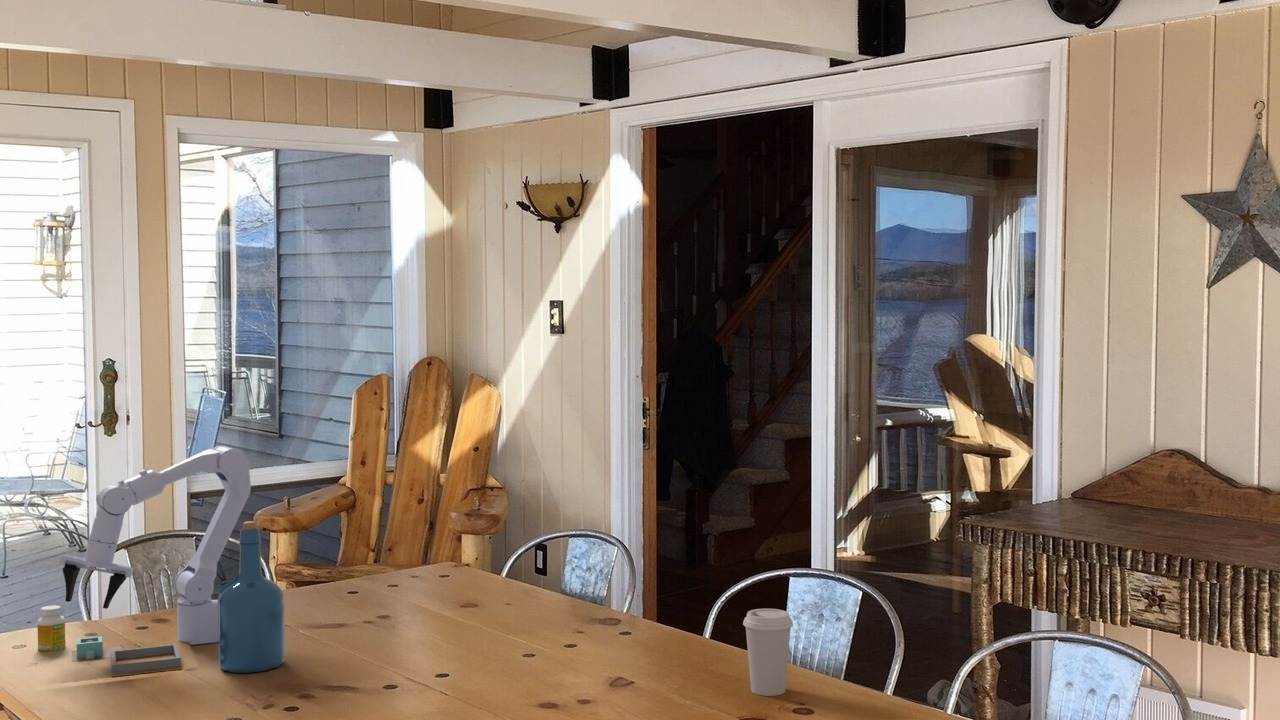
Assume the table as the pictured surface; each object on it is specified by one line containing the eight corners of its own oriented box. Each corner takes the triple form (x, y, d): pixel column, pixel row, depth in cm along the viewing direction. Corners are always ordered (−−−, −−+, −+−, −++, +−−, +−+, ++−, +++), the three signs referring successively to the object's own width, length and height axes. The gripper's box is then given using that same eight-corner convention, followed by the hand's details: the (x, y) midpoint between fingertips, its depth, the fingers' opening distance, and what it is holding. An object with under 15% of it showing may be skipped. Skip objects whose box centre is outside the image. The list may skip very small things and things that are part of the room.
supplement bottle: (54, 655, 266) (53, 610, 266) (32, 654, 267) (31, 609, 267) (70, 649, 271) (69, 605, 271) (49, 648, 272) (48, 604, 272)
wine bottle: (298, 660, 262) (296, 518, 261) (259, 677, 249) (256, 528, 248) (243, 654, 266) (241, 515, 265) (202, 671, 254) (200, 525, 253)
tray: (176, 655, 266) (176, 643, 266) (181, 669, 255) (180, 657, 255) (110, 662, 260) (110, 650, 260) (112, 677, 249) (111, 665, 249)
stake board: (122, 649, 271) (122, 633, 271) (123, 659, 263) (123, 643, 263) (71, 654, 267) (71, 638, 267) (71, 665, 259) (71, 648, 259)
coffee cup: (739, 684, 242) (739, 608, 242) (787, 682, 243) (787, 606, 243) (747, 699, 233) (747, 620, 232) (798, 697, 234) (797, 618, 233)
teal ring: (102, 650, 267) (102, 636, 267) (102, 657, 261) (102, 643, 261) (76, 652, 265) (76, 638, 265) (76, 660, 259) (76, 646, 259)
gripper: (63, 535, 261) (46, 600, 259) (134, 549, 263) (117, 613, 262) (71, 533, 268) (55, 596, 266) (141, 547, 270) (125, 609, 269)
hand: (86, 604), depth 264 cm, fingers open, 7 cm apart
